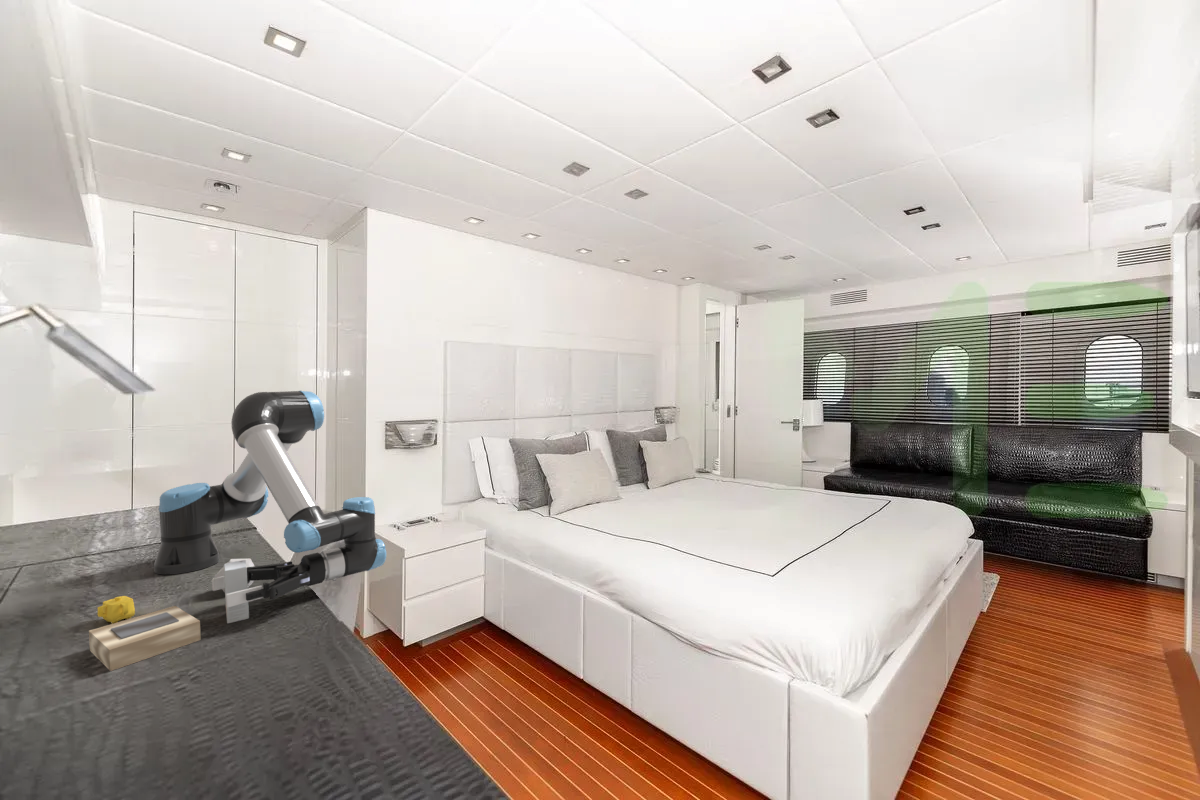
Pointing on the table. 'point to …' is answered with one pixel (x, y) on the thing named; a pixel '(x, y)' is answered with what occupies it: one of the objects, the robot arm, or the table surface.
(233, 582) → the skincare box
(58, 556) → the table surface
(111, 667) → the plinth
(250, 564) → the die
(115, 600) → the teapot
